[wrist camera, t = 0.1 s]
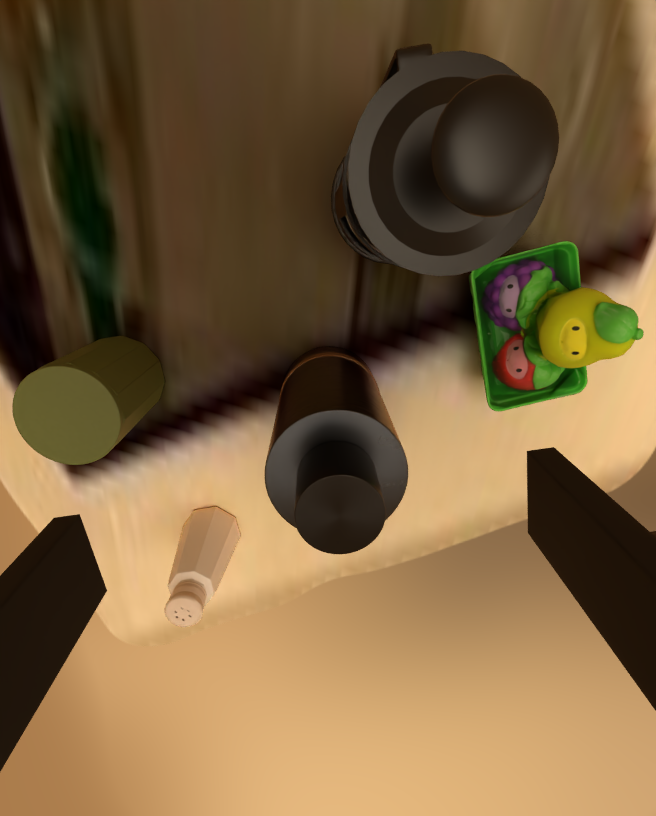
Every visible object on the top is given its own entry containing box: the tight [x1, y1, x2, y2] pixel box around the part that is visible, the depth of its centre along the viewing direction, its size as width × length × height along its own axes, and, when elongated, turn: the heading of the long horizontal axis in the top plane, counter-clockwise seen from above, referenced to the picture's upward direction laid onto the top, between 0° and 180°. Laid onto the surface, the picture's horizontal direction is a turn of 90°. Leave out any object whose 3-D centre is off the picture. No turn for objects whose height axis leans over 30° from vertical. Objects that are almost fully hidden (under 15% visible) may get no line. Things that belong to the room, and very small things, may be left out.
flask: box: [265, 347, 408, 554], centre depth 33 cm, size 8×8×20 cm
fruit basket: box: [469, 241, 643, 411], centre depth 35 cm, size 11×9×11 cm
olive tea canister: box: [13, 336, 165, 465], centre depth 37 cm, size 7×7×10 cm
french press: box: [331, 44, 559, 276], centre depth 26 cm, size 12×9×23 cm
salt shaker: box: [165, 507, 240, 627], centre depth 41 cm, size 5×5×11 cm
